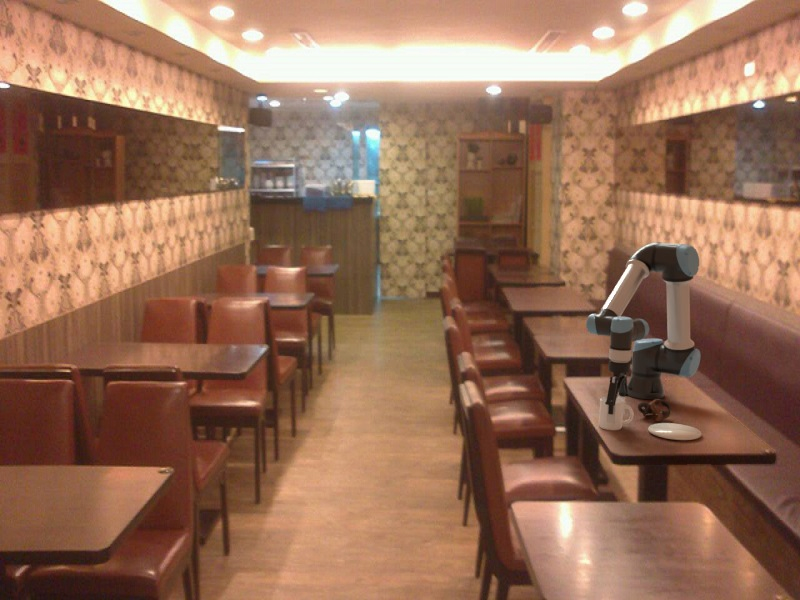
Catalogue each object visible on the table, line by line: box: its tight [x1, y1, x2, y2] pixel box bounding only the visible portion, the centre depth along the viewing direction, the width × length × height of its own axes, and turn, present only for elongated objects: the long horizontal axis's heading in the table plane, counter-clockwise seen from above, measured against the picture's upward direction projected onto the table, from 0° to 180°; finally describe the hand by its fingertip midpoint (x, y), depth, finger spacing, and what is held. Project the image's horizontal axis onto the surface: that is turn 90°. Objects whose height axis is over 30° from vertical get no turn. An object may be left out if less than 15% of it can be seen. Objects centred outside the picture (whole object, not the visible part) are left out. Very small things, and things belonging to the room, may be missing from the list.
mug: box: [598, 396, 635, 431], centre depth 333 cm, size 12×8×10 cm
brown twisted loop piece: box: [637, 398, 672, 423], centre depth 346 cm, size 12×10×8 cm
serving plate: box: [648, 422, 702, 441], centre depth 328 cm, size 18×18×1 cm
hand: (615, 418), depth 333 cm, fingers open, 13 cm apart
